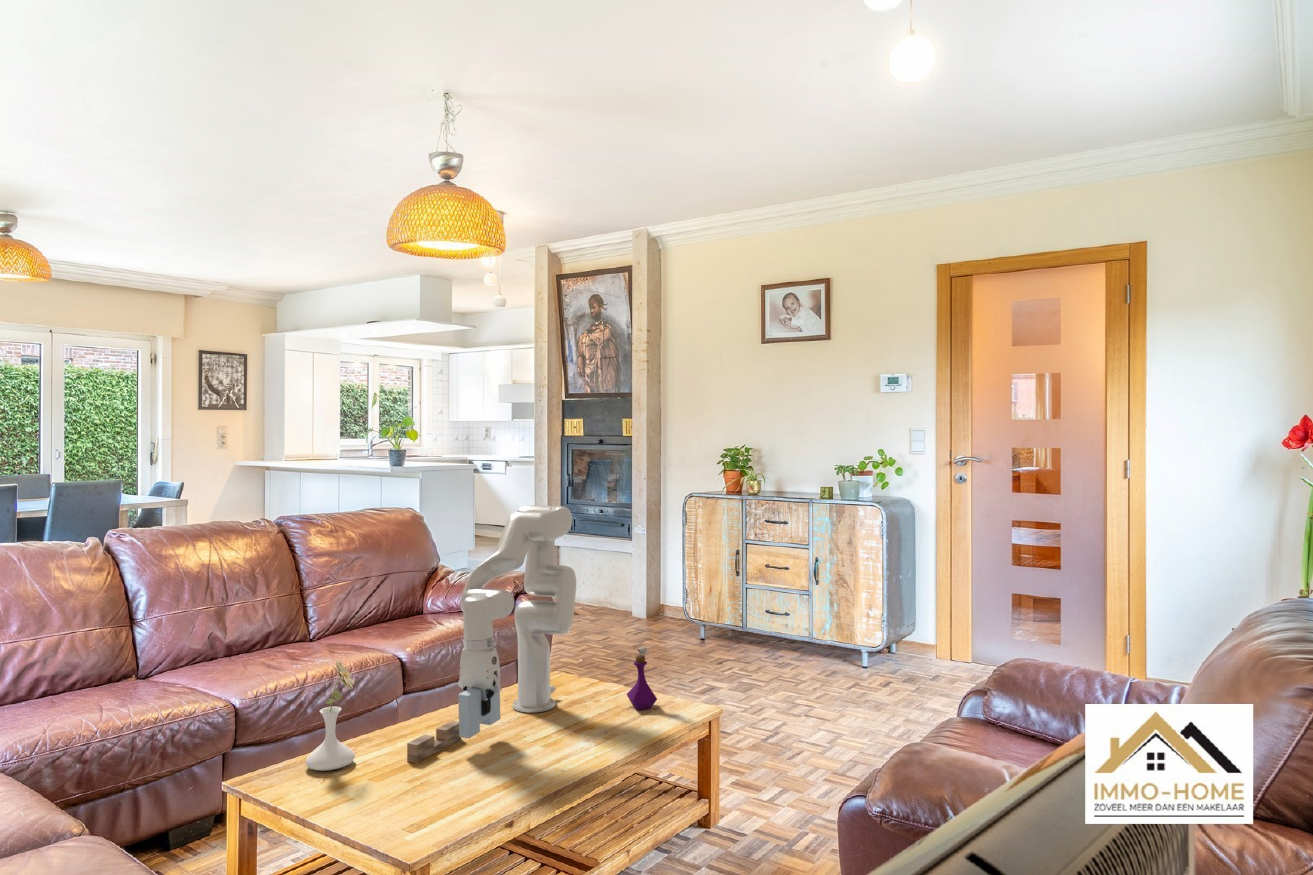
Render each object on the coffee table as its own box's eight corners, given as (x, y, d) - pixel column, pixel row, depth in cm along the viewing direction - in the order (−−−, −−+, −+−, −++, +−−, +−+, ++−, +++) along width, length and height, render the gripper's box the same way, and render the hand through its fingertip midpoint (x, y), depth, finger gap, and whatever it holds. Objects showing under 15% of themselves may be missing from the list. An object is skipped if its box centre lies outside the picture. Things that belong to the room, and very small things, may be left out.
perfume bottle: (626, 704, 253) (626, 645, 252) (650, 702, 255) (650, 643, 255) (633, 712, 245) (633, 651, 245) (657, 710, 248) (657, 649, 248)
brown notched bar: (452, 737, 225) (452, 720, 225) (461, 738, 224) (461, 722, 224) (407, 761, 208) (407, 743, 208) (416, 763, 207) (416, 744, 207)
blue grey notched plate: (459, 736, 213) (458, 694, 213) (490, 717, 226) (490, 677, 226) (469, 738, 212) (468, 695, 212) (500, 718, 225) (499, 678, 225)
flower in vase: (338, 777, 199) (338, 671, 199) (295, 773, 201) (295, 669, 201) (367, 756, 212) (367, 657, 212) (327, 752, 214) (327, 655, 214)
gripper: (513, 642, 219) (514, 712, 219) (461, 636, 225) (462, 704, 226) (496, 650, 212) (498, 722, 212) (443, 644, 218) (445, 713, 219)
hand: (480, 712), depth 219 cm, fingers closed on blue grey notched plate, 3 cm apart
